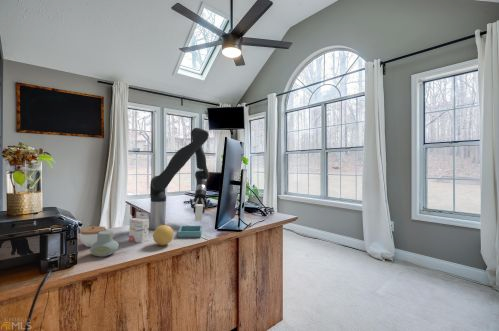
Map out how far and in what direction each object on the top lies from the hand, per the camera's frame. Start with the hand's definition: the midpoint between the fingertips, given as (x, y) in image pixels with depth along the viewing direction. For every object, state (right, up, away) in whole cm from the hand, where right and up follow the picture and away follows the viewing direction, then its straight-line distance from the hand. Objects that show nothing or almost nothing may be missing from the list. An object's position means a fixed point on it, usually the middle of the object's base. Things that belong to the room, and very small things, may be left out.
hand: (198, 212), depth 152 cm
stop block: (0, -5, +1) cm, 5 cm away
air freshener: (-32, -9, -48) cm, 58 cm away
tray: (-2, -10, -15) cm, 18 cm away
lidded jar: (-45, -9, -37) cm, 59 cm away
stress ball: (-11, -10, -33) cm, 36 cm away
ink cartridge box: (-26, -9, -29) cm, 40 cm away
